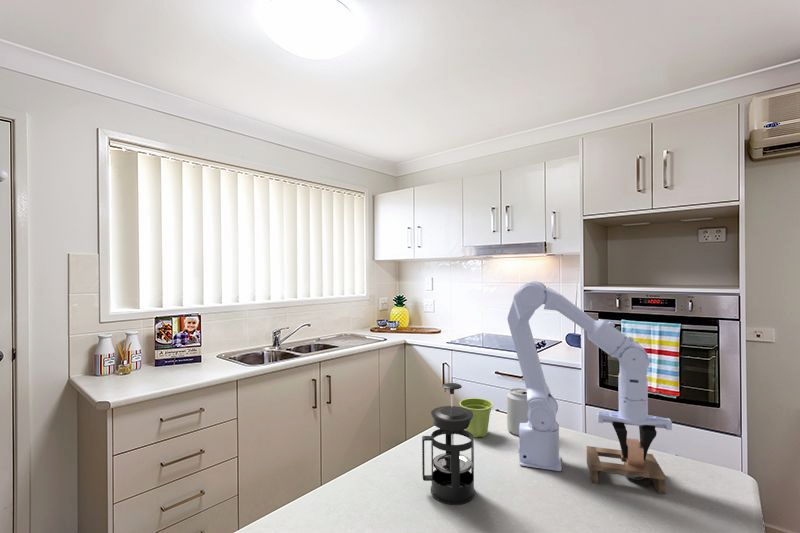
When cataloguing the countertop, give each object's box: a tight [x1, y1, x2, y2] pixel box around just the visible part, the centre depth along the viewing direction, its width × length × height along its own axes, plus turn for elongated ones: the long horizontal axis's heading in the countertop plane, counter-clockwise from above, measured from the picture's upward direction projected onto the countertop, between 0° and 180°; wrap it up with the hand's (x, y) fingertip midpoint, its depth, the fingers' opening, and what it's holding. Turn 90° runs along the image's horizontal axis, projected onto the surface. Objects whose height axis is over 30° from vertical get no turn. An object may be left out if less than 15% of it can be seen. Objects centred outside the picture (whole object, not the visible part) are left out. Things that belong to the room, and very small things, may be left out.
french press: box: [421, 382, 476, 506], centre depth 86 cm, size 12×9×23 cm
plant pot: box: [459, 397, 494, 438], centre depth 116 cm, size 9×9×9 cm
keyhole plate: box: [586, 445, 666, 495], centre depth 92 cm, size 14×10×4 cm
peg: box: [623, 437, 645, 481], centre depth 91 cm, size 4×5×7 cm
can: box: [506, 387, 529, 437], centre depth 117 cm, size 8×8×12 cm
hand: (633, 457), depth 91 cm, fingers closed on peg, 3 cm apart
